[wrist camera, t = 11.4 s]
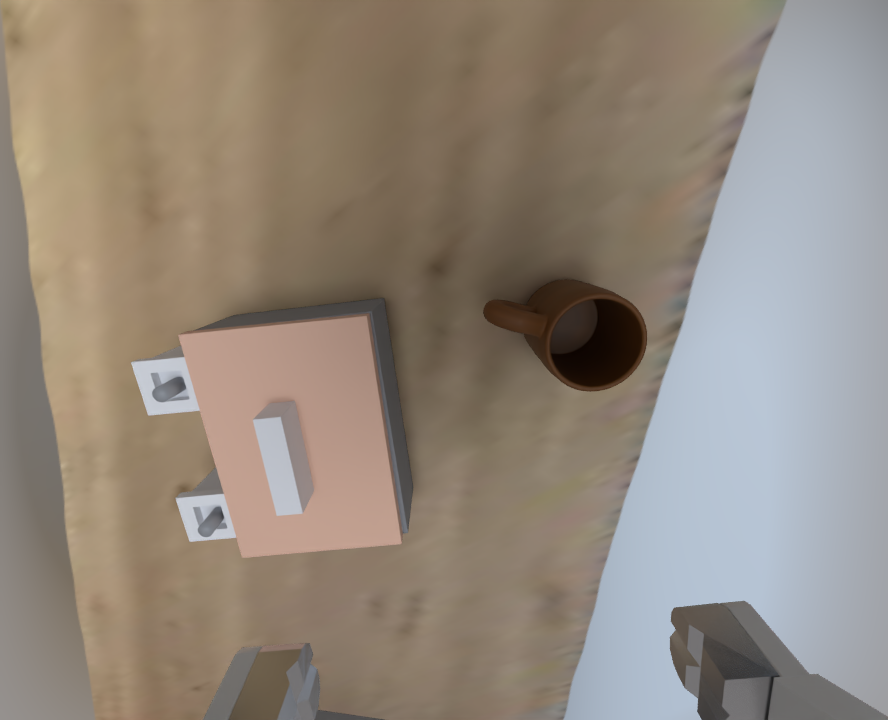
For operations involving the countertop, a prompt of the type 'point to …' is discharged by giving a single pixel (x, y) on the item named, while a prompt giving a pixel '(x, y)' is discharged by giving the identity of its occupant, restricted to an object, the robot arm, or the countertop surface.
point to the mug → (577, 332)
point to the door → (287, 434)
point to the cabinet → (388, 382)
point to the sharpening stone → (339, 716)
